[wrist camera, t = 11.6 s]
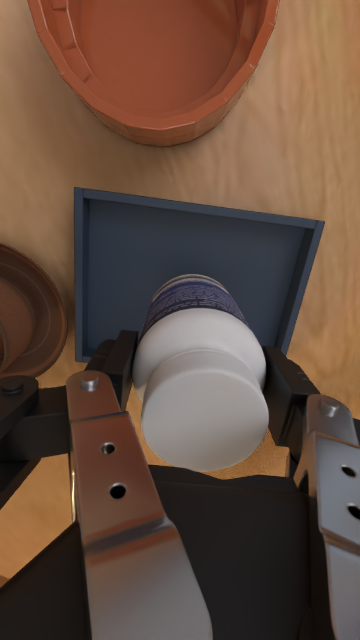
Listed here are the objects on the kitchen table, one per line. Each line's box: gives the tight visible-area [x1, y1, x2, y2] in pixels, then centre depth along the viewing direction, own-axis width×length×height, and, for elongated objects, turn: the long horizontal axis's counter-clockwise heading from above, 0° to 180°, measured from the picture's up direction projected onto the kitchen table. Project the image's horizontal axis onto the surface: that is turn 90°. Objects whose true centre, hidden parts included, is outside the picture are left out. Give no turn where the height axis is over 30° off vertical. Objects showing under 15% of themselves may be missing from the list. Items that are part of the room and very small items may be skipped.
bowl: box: [27, 0, 280, 147], centre depth 15 cm, size 12×12×4 cm
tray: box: [74, 187, 325, 363], centre depth 22 cm, size 17×13×2 cm
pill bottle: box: [132, 274, 269, 472], centre depth 13 cm, size 5×5×10 cm
